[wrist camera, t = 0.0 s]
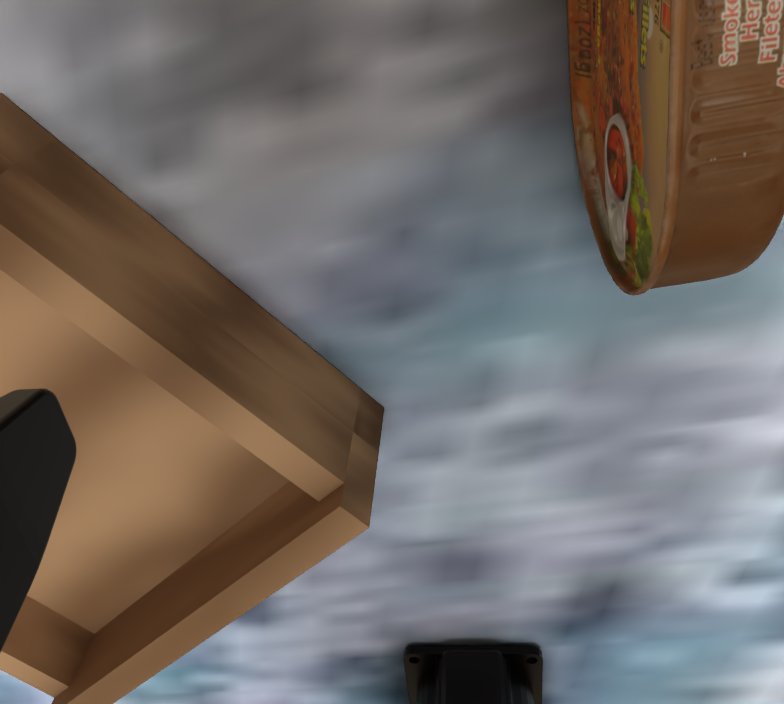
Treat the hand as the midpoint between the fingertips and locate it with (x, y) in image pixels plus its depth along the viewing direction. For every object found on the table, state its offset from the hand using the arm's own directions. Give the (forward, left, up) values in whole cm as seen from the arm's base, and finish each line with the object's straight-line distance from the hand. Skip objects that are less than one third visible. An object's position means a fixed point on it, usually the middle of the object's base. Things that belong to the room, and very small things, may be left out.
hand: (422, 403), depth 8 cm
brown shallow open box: (-11, +15, -15) cm, 23 cm away
